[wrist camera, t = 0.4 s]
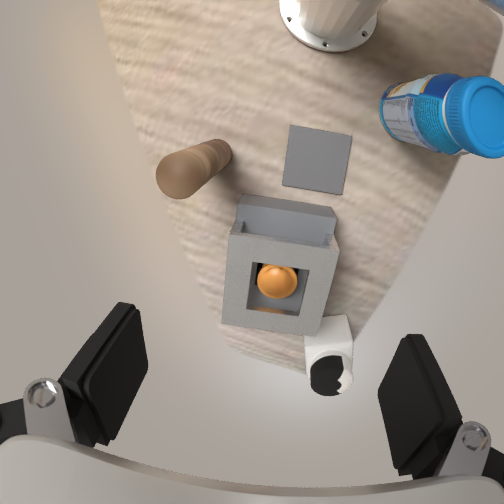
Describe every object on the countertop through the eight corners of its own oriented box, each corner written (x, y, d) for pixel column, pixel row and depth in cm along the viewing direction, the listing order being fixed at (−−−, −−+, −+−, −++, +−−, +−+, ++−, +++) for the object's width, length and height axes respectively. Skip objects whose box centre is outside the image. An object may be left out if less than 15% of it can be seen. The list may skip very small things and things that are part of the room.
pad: (290, 124, 37) (290, 124, 37) (351, 136, 37) (352, 136, 36) (282, 184, 40) (281, 185, 40) (340, 194, 40) (341, 194, 40)
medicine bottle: (305, 350, 52) (308, 403, 41) (302, 318, 49) (305, 371, 38) (346, 345, 50) (356, 398, 40) (346, 313, 48) (359, 365, 37)
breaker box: (242, 193, 41) (237, 203, 37) (331, 207, 41) (336, 218, 36) (232, 294, 48) (226, 313, 44) (308, 305, 48) (310, 325, 43)
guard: (235, 219, 38) (229, 234, 33) (333, 234, 37) (339, 250, 33) (227, 301, 43) (221, 323, 38) (313, 314, 42) (316, 336, 38)
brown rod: (203, 137, 39) (156, 151, 24) (233, 140, 38) (202, 154, 24) (200, 166, 40) (155, 196, 26) (230, 170, 40) (199, 201, 26)
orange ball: (262, 242, 41) (259, 261, 36) (298, 248, 41) (300, 267, 36) (258, 274, 43) (254, 295, 38) (292, 279, 43) (293, 301, 38)
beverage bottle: (367, 126, 36) (438, 137, 18) (388, 71, 32) (468, 44, 14) (419, 153, 36) (508, 188, 18) (439, 101, 33) (535, 104, 15)
